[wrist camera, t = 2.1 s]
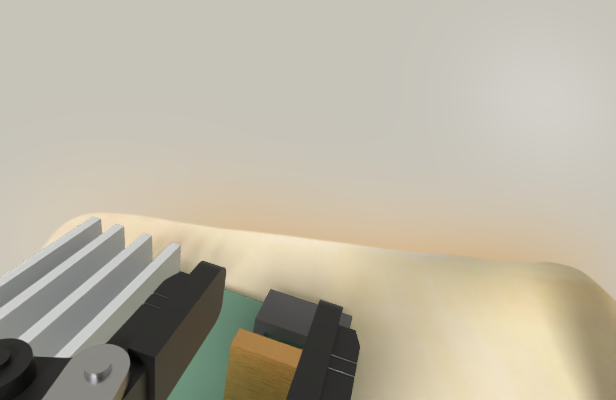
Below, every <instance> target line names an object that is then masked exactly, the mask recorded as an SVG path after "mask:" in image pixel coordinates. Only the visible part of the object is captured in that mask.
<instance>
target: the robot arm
mask: <svg viewBox="0 0 616 400" xmlns="http://www.w3.org/2000/svg"><path fill="white" fill-rule="evenodd" d="M225 277H226V269H225V268H223V267H220V266H217V265H214V264H211V263H208V262H205V261H201V262H200V263H199V264H198V265H197V266H196V267H195V269H194V270H193V271H192V272H191V273H190V274H187V273H184V272H181V271H180V272H178V273H176V274H175V275H173V276H171V277H169V278H167V279H165V280H164V281H163V282H162V283H161V284H160V285H159V286H158V288H157V289H156V290H155V291H154V293H153V294H151V295H150V296H149V297H148V298H147V299H146V301H145V303H144V304H142V305H141V306H140V307H139V308H138V309H137V310H136V311H135V312H134V314H133V315H132V316H131V317H130V318H129V319H128V320H127V321H126V322H125V323H124V324H123V325H122V327H121V328H120V329H119V330H118V331H117V332H116V333H115V334H114V335H113V336H112V337H111V338H110V340H109V341H108V342H106V343H105V344H99V345H95V346H91V347H89V348H86V349H84V350H82V351H81V352H79V353H78V354H76V355H75V356H74V357H71V358H60V357H37V356H33V352H32V348H31V346H30V345H29V344H28V343H27V342H25V341H23V340H20V339H15V338H6V339H0V400H167V398H168V397H169V395H170V394H171V392H172V390H173V389H174V387H175V386H176V384H177V383H178V381H179V380H180V378H181V376H182V375H183V373H184V372H185V370H186V369H187V367H188V365H189V364H190V362H191V361H192V359H193V358H194V356H195V355H196V353H197V351H198V350H199V348H200V347H201V345H202V344H203V342H204V340H205V339H206V337H207V336H208V334H209V333H210V331H211V330H212V328H213V326H214V325H215V323H216V321H217V319H218V317H219V315H220V312H221V308H222V304H223V295H224V286H225ZM342 310H343V307H341V306H338V305H335V304H332V303H329V302H326V301H323V300H320V301H319V304H318V307H317V309H316V312H315V315H314V318H313V321H312V324H311V327H310V330H309V333H308V336H307V339H306V342H305V345H304V348H303V351H302V353H301V356H300V359H299V362H298V365H297V368H296V371H295V374H294V377H293V380H292V383H291V386H290V389H289V392H288V395H287V397H286V400H351V394H352V388H353V383H354V376H355V372H356V366H357V360H358V355H359V349H360V345H359V341H358V338H357V334H356V331H355V330H353V329H350V328H347V327H344V326H341V325H339V321H340V317H341V313H342Z"/></svg>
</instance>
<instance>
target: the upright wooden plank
mask: <svg viewBox="0 0 616 400" xmlns="http://www.w3.org/2000/svg"><path fill="white" fill-rule="evenodd" d="M302 351H303V350H301V349H298V348H296V347H293V346H290V345H287V344H284V343H281V342H278V341H275V340H273V339H270V338H267V337H264V336H261V335H258V334H255V333H252V332H250V331H247V330H244V329H241V328H239V330H238V332H237V334H236V336H235V337H234V339H233V341H232V343H231V346H230V353H229V361H228V368H227V376H226V383H225V390H224V398H223V400H286V397H287V395H288V392H289V389H290V386H291V383H292V380H293V377H294V374H295V371H296V368H297V365H298V362H299V359H300V356H301V353H302Z"/></svg>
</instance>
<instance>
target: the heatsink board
mask: <svg viewBox="0 0 616 400" xmlns="http://www.w3.org/2000/svg"><path fill="white" fill-rule="evenodd" d="M180 252H181V245H180V244H177V243H174V242H172V243H171V244H170V245H169V246H168V247H167V248H166V249H165V250H164V251H163V252H162V253H161V254H160V255H159V256H158V257H157V258H156V259H155V260H154V261H153V262H152V235H149V234H146V233H143V234H142V235H141V236H140V237H139V238H137V239H136V240H135V241H134V242H133V243H131V244H130V245H129V246H128V247H127V248H125V237H124V226H122V225H119V224H115V225H114V226H112V227H111V228H110V229H108V230H107V231H106V232H104V233H103V234H102V227H101V219H100V218H97V217H94V216H93V217H91V218H90V219H88V220H87V221H85V222H84V223H82V224H81V225H79V226H77V227H76V228H74V229H73V230H71V231H70V232H68V233H67V234H65V235H64V236H62V237H61V238H59V239H58V240H56V241H55V242H53V243H51V244H50V245H48V246H47V247H45V248H44V249H42V250H41V251H39V252H38V253H36V254H35V255H33V256H32V257H30V258H29V259H27V260H26V261H24V262H22V263H21V264H20V265H18V266H16V267H15V268H13V269H12V270H10V271H9V272H8V273H6V274H4V275H3V276H1V277H0V339H6V338H15V339H20V340H23V341H25V342H27V343H28V344H29V345H30V346H31V348H32V352H33V356H37V357H60V358H71V357H74V356H75V355H76V354H78V353H79V352H81V351H82V350H84V349H86V348H89V347H91V346H95V345H99V344H105V343H106V342H108V341H109V340H110V338H111V337H112V336H113V335H114V334H115V333H116V332H117V331H118V330H119V329H120V328H121V327H122V325H123V324H124V323H125V322H126V321H127V320H128V319H129V318H130V317H131V316H132V315H133V314H134V312H135V311H136V310H137V309H138V308H139V307H140V306H141V305H142V304H144V303H145V301H146V299H147V298H148V297H149V296H150V295H151V294H153V293H154V291H155V290H156V289H157V288H158V286H159V285H160V284H161V283H162V282H163V281H164V280H165V279H167V278H169V277H171V276H173V275H175V274H176V273H178V272H180ZM317 307H318V305H317V304H314V303H311V302H308V301H305V300H302V299H299V298H296V297H293V296H290V295H287V294H284V293H281V292H278V291H275V290H272V289H270V291H269V293H268V295H267V297H266V299H265V301H264V302H261V301H258V300H255V299H252V298H249V297H246V296H243V295H240V294H237V293H234V292H231V291H228V290H225V289H224V295H223V304H222V308H221V312H220V315H219V317H218V319H217V321H216V323H215V325H214V326H213V328H212V330H211V331H210V333H209V334H208V336H207V337H206V339H205V340H204V342H203V344H202V345H201V347H200V348H199V350H198V351H197V353H196V355H195V356H194V358H193V359H192V361H191V362H190V364H189V365H188V367H187V369H186V370H185V372H184V373H183V375H182V376H181V378H180V380H179V381H178V383H177V384H176V386H175V387H174V389H173V390H172V392H171V394H170V395H169V397H168V398H167V400H223V398H224V390H225V383H226V376H227V368H228V361H229V353H230V346H231V343H232V341H233V339H234V337H235V336H236V334H237V332H238V330H239V328H241V329H244V330H247V331H250V332H252V333H255V334H258V335H261V336H264V337H267V338H270V339H273V340H275V341H278V342H281V343H284V344H287V345H290V346H293V347H296V348H298V349H301V350H303V348H304V345H305V342H306V339H307V336H308V333H309V330H310V327H311V324H312V321H313V318H314V315H315V312H316V309H317ZM351 320H352V316H350V315H347V314H344V313H341V317H340V321H339V325H341V326H344V327H347V328H350V325H351Z"/></svg>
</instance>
